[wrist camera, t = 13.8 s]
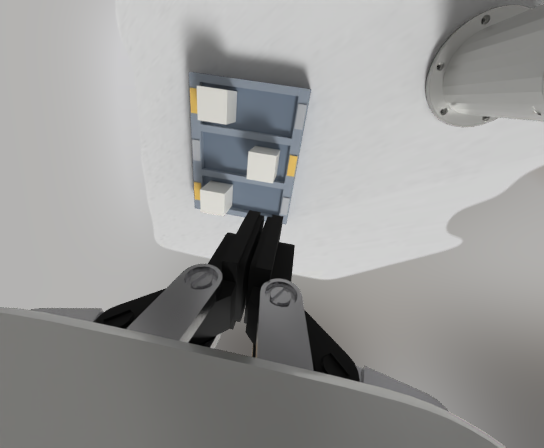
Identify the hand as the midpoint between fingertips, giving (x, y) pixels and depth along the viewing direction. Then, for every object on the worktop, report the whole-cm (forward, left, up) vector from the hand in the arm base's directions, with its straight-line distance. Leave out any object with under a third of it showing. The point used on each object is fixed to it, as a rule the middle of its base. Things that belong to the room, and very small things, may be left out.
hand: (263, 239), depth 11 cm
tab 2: (+11, +10, -27) cm, 31 cm away
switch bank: (+8, +3, -29) cm, 30 cm away
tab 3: (+4, +3, -27) cm, 27 cm away
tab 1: (+11, -4, -27) cm, 29 cm away
